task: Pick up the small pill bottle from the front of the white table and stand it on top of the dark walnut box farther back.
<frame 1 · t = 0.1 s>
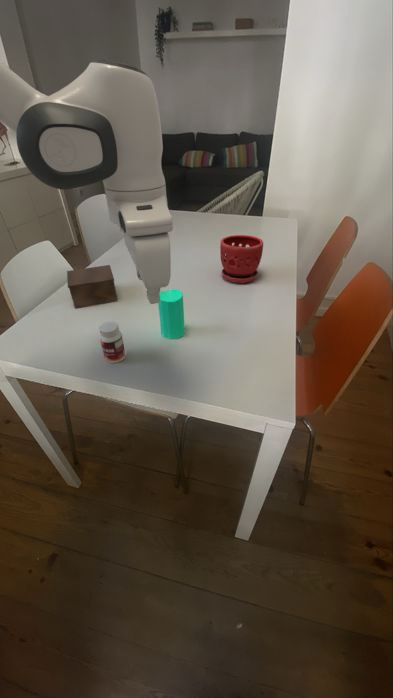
hand: (148, 289, 56), 19 cm above the table, tool pointing down, fingers open, 8 cm apart
walnut box: (95, 296, 95), on the table
flower pot: (239, 277, 104), on the table
pill bottle: (115, 357, 72), on the table
candle: (173, 332, 80), on the table
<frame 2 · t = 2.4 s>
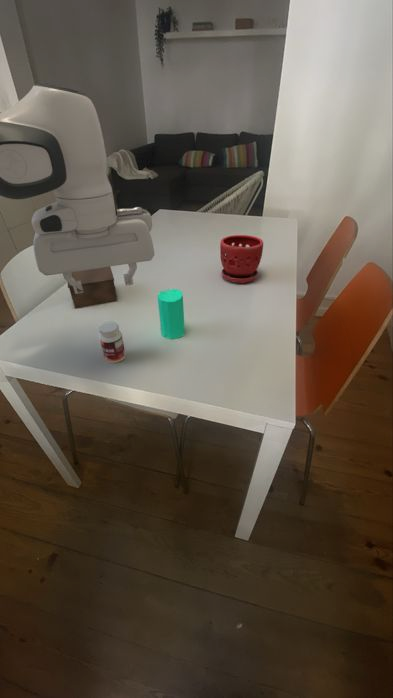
hand: (104, 287, 61), 18 cm above the table, tool pointing down, fingers open, 8 cm apart
nothing on the table moved.
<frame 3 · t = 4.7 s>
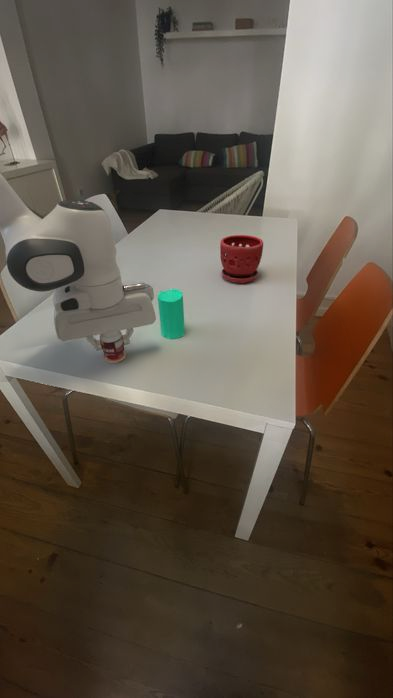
hand: (112, 346, 70), 3 cm above the table, tool pointing down, fingers closed on pill bottle, 5 cm apart
pill bottle: (115, 357, 72), on the table, touching gripper
everything else where it was.
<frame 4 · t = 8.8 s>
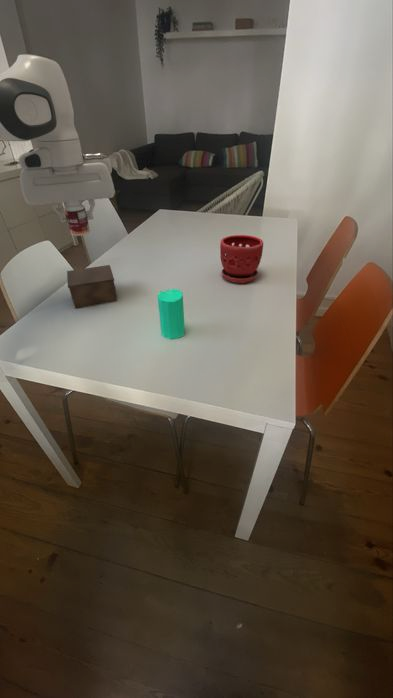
hand: (77, 220, 78), 23 cm above the table, tool pointing down, fingers closed on pill bottle, 5 cm apart
pill bottle: (80, 234, 80), point 20 cm above the table, touching gripper
everything else where it was.
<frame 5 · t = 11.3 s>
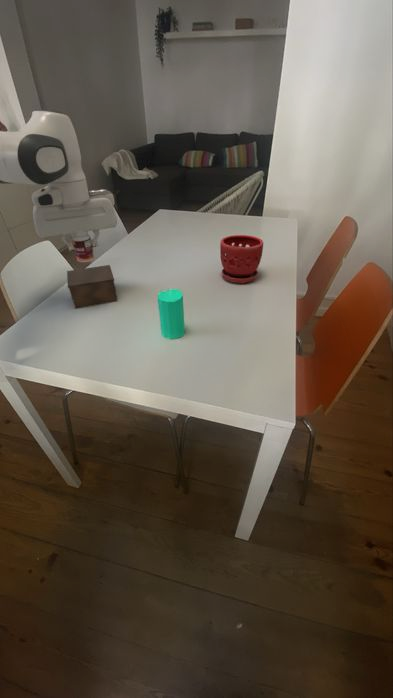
hand: (83, 248, 86), 15 cm above the table, tool pointing down, fingers closed on pill bottle, 5 cm apart
pill bottle: (86, 260, 88), point 12 cm above the table, touching gripper
everything else where it was.
when the fingers open (10 cm above the table, at t = 13.1 s): pill bottle stays where it is, resting on walnut box.
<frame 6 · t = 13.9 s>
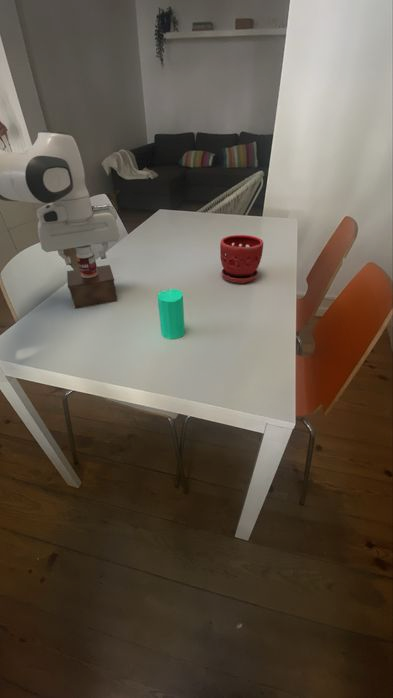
hand: (86, 261, 88), 11 cm above the table, tool pointing down, fingers open, 8 cm apart
pill bottle: (90, 275, 91), point 7 cm above the table, touching walnut box
everything else where it was.
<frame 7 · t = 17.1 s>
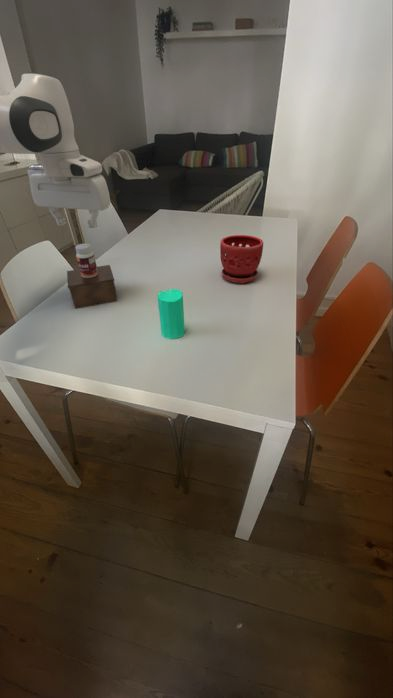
hand: (77, 226, 83), 21 cm above the table, tool pointing down, fingers open, 8 cm apart
nothing on the table moved.
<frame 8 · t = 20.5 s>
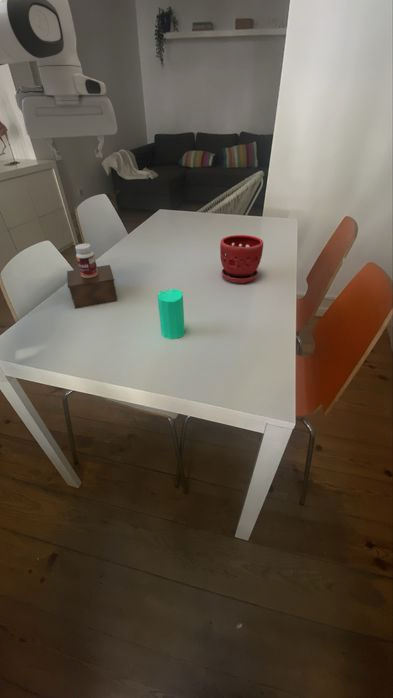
hand: (79, 158, 78), 35 cm above the table, tool pointing down, fingers open, 8 cm apart
nothing on the table moved.
at the end: pill bottle inside the target area on the walnut box (0.1 cm from its centre), point 6.9 cm above the walnut box's base; pill bottle tilted 0° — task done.
